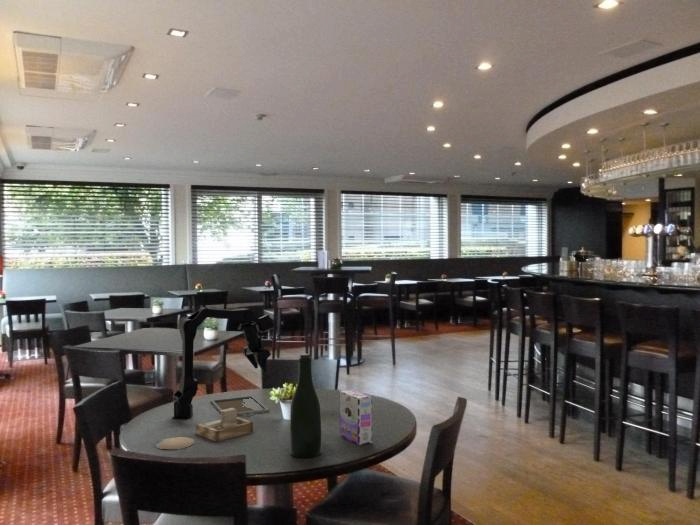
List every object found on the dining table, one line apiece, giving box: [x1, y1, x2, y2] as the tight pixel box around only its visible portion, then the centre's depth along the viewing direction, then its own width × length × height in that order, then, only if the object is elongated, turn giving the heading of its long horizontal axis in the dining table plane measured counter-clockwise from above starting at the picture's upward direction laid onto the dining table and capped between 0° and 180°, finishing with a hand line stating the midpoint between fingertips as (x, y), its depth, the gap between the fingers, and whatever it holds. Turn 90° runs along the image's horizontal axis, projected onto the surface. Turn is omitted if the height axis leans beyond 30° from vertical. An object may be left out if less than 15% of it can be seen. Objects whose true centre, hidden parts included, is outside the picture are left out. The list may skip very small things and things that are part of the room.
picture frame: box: [210, 395, 270, 417], centre depth 248 cm, size 19×2×30 cm
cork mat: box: [157, 436, 195, 450], centre depth 201 cm, size 13×13×1 cm
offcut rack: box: [195, 416, 254, 443], centre depth 213 cm, size 14×16×4 cm
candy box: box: [339, 388, 373, 446], centre depth 205 cm, size 14×6×16 cm, turn 30°
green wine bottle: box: [289, 353, 323, 459], centre depth 190 cm, size 10×10×33 cm
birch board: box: [220, 408, 238, 429], centre depth 211 cm, size 3×5×9 cm, turn 136°
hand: (260, 370), depth 252 cm, fingers open, 9 cm apart
